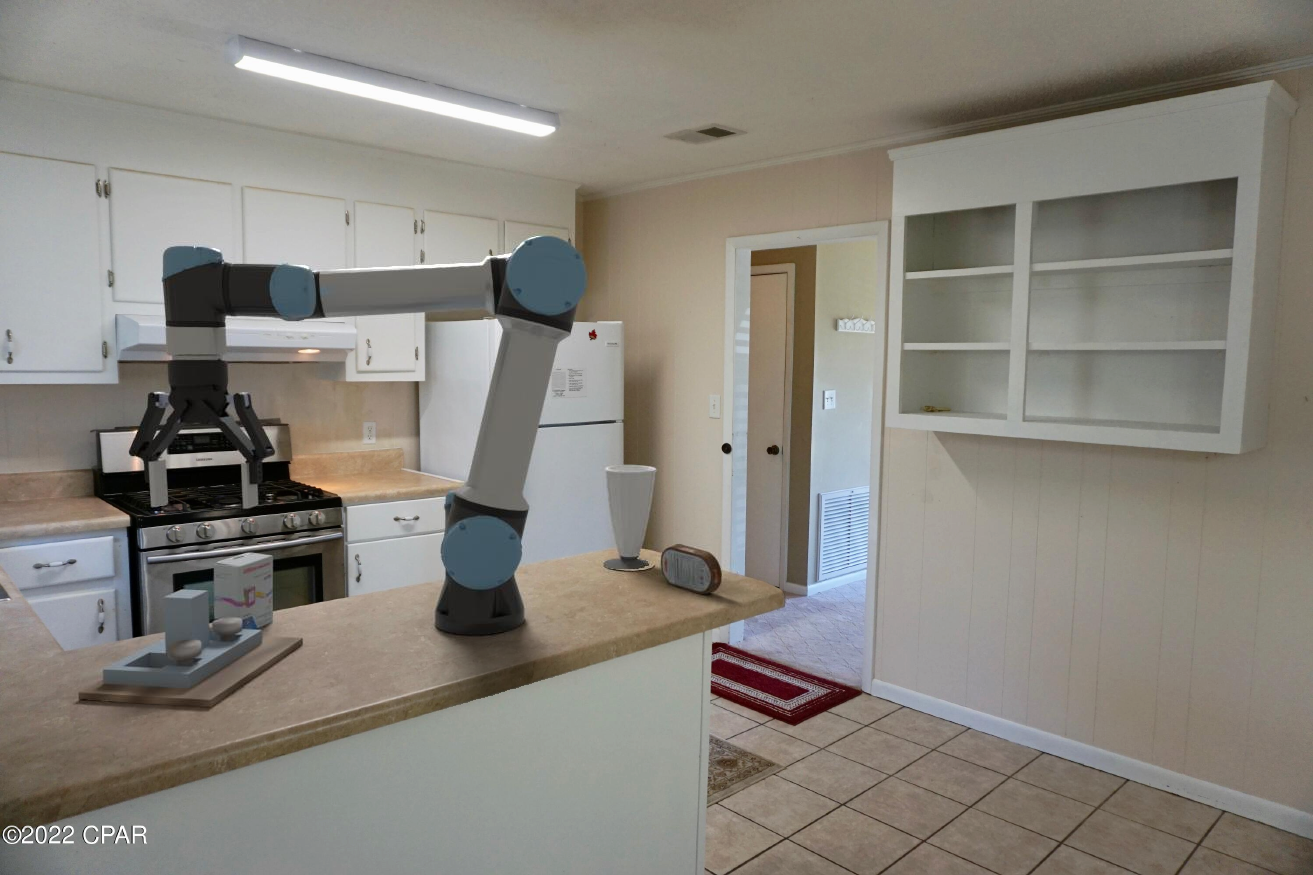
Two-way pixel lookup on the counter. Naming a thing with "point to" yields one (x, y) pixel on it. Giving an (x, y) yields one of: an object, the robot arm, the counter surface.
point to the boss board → (209, 687)
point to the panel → (179, 673)
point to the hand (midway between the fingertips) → (205, 506)
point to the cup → (629, 511)
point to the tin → (691, 569)
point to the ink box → (244, 589)
